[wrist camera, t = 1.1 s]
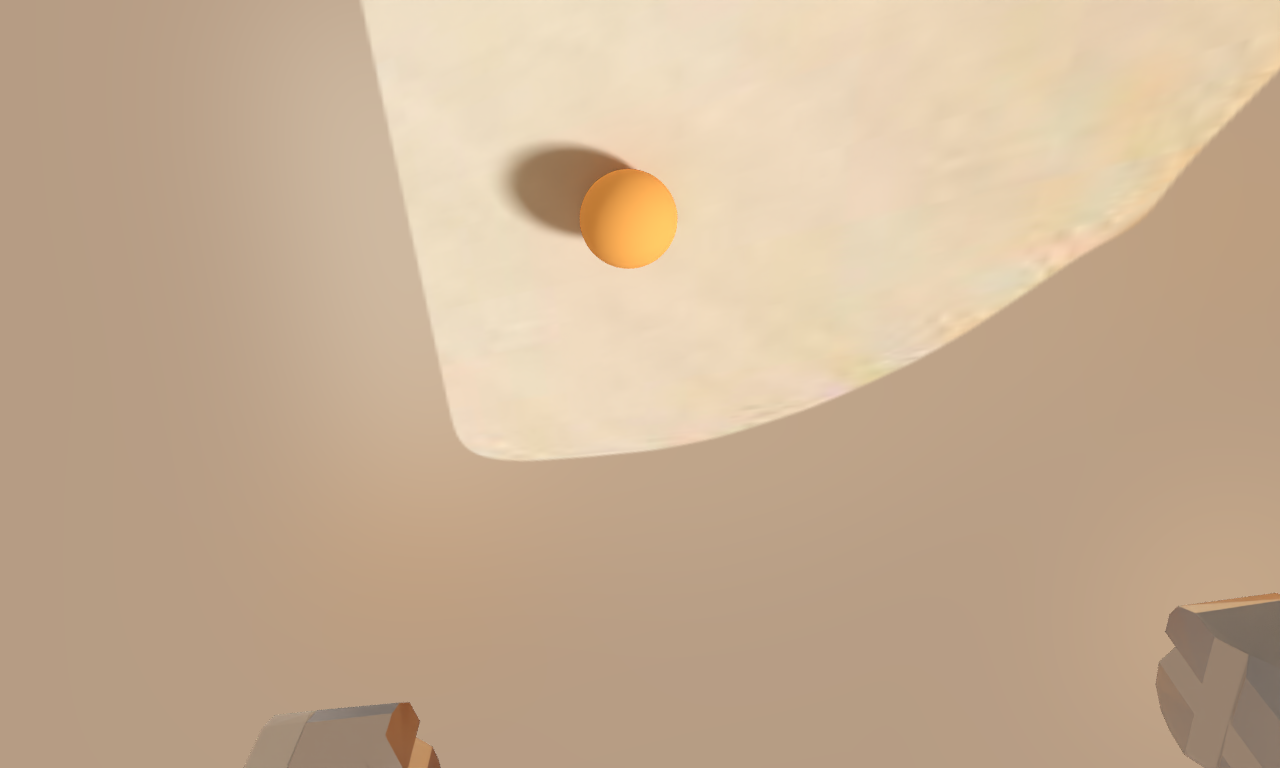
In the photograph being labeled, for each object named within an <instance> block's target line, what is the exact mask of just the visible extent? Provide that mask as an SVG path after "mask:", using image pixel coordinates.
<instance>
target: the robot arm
mask: <svg viewBox="0 0 1280 768" xmlns="http://www.w3.org/2000/svg"><path fill="white" fill-rule="evenodd" d="M1165 632H1166V634H1167V635H1168V637H1169V638H1170V639H1171V641H1172V642H1173V644H1174V645H1175V646H1176V647H1175V648H1174V649H1173V650H1171V651H1170V653H1168V654H1167V655H1166V656H1165V657H1164V658H1163V659H1162V660H1160V661H1159V665H1158V672H1157V679H1156V688H1157V693H1158V698H1159V703H1160V708H1161V712H1162V714H1163V716H1164V719H1165V721H1166V723H1167V726H1168V728H1169V730H1170V732H1171V733H1172V735H1173V737H1174V739H1175V740H1176V742H1177V743H1178V745H1179V747H1180V748H1181V750H1182V752H1183V753H1184V755H1186V756H1187V757H1189V758H1190V759H1192V760H1193V761H1195V762H1196V763H1198V764H1199V765H1201V766H1203V767H1204V768H1280V594H1278V593H1270V594H1263V595H1255V596H1248V597H1241V598H1234V599H1227V600H1218V601H1211V602H1204V603H1197V604H1189V605H1181V606H1178V607H1177V608H1176V609H1175V610H1174V611H1173V612H1172V613H1171V614H1170V615H1169V618H1168V623H1167V627H1166V631H1165ZM419 724H420V720H419V718H418V716H417V715H416V713H415V711H414V709H413V707H412V706H411V704H410V702H405V703H391V704H380V705H370V706H359V707H348V708H338V709H327V710H317V711H310V712H300V713H290V714H281V715H274V717H273V718H272V719H271V720H270V721H269V722H268V723H267V724H266V725H265V726H264V727H263V728H262V730H261V732H260V733H259V736H258V738H257V740H256V742H255V745H254V747H253V749H252V751H251V753H250V755H249V757H248V759H247V762H246V764H245V766H244V768H441V767H440V763H439V759H438V757H437V755H436V753H435V751H434V749H433V746H431V745H429V744H427V743H426V742H424V741H422V740H421V739H419V738H417V737H416V735H417V731H418V727H419Z"/></svg>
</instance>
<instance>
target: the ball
mask: <svg viewBox="0 0 1280 768" xmlns="http://www.w3.org/2000/svg"><path fill="white" fill-rule="evenodd" d="M580 228H581V232H582V235H583V238H584V240H585V242H586V244H587V246H588V247H589V249H590V250H591V251H592V252H593V253H594V254H595V255H596V256H597V257H598V258H599V259H601V260H602V261H604V262H605V263H607V264H609V265H612V266H615V267H619V268H627V269H630V268H639V267H642V266H645V265H648V264H650V263H652V262H654V261H655V260H657V259H658V258H659V257H660V256H661V255H662V254H663V253H664V252H665V251H666V250H667V249H668V247H669V246H670V244H671V242H672V240H673V238H674V235H675V232H676V228H677V210H676V206H675V203H674V200H673V197H672V195H671V193H670V192H669V190H668V189H667V188H666V186H665V185H664V184H663V183H662V182H661V181H659V180H658V179H657V178H656V177H654V176H653V175H651V174H649V173H646V172H644V171H640V170H636V169H621V170H616V171H613V172H610V173H608V174H606V175H604V176H603V177H601V178H600V179H598V180H597V181H596V182H595V183H594V184H593V185H592V186H591V187H590V189H589V190H588V192H587V193H586V195H585V197H584V199H583V202H582V205H581V209H580Z"/></svg>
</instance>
